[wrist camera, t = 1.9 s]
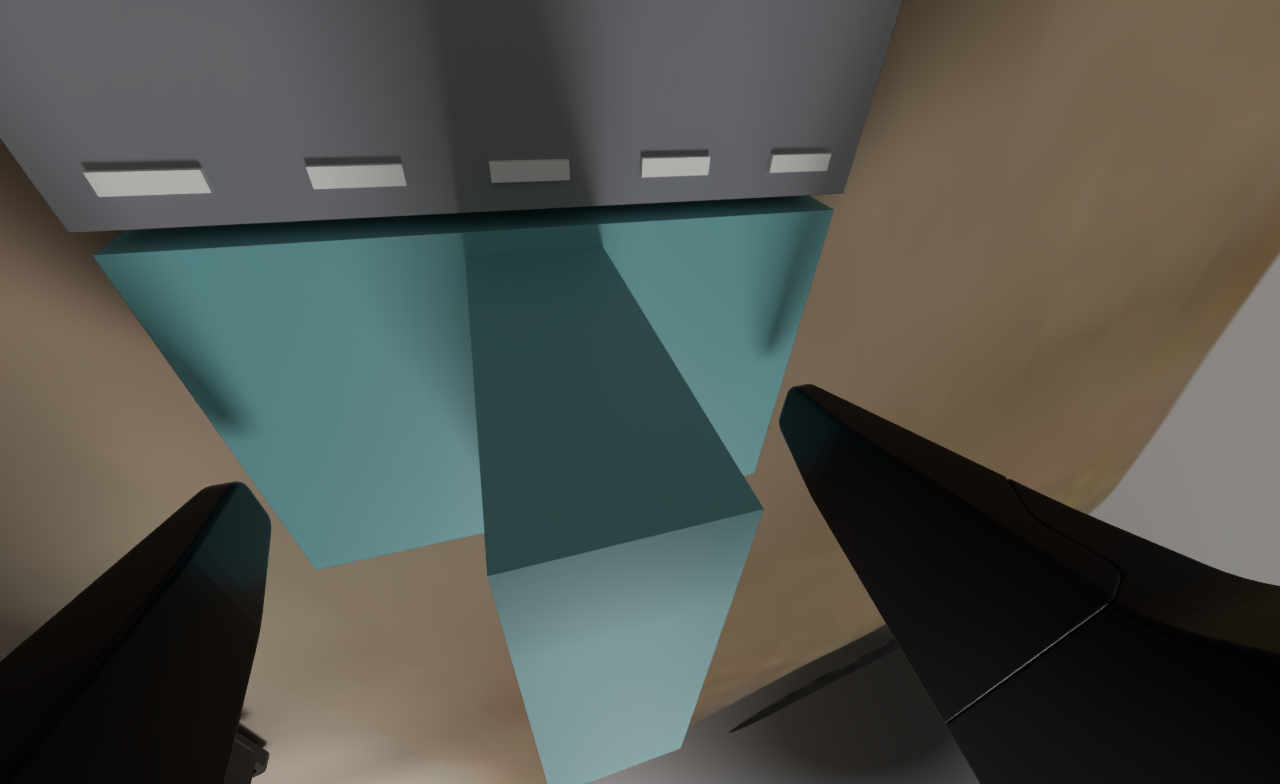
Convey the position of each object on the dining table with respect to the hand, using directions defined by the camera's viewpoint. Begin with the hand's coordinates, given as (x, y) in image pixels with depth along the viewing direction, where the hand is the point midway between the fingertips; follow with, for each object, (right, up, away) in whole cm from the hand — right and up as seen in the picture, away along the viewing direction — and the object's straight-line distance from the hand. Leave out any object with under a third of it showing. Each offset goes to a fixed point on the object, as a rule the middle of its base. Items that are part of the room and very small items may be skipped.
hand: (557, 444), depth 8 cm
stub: (-1, +1, +1) cm, 2 cm away
